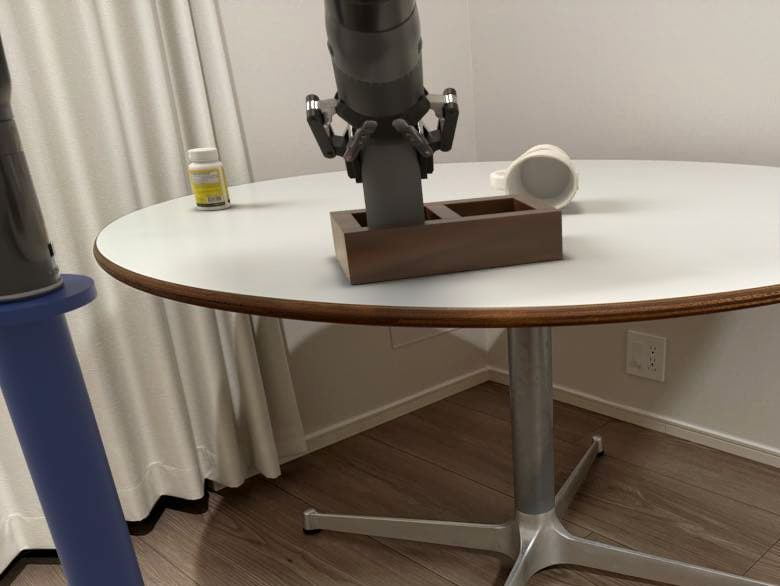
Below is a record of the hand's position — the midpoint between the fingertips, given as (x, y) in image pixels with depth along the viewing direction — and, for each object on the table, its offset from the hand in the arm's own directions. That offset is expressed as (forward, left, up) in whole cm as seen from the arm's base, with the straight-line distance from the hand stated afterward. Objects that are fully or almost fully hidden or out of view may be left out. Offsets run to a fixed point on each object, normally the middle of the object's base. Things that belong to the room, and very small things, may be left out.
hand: (391, 173), depth 81 cm
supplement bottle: (-19, +45, -9) cm, 50 cm away
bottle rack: (+5, -2, -9) cm, 10 cm away
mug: (+23, +20, -9) cm, 32 cm away
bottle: (0, -2, -7) cm, 8 cm away
